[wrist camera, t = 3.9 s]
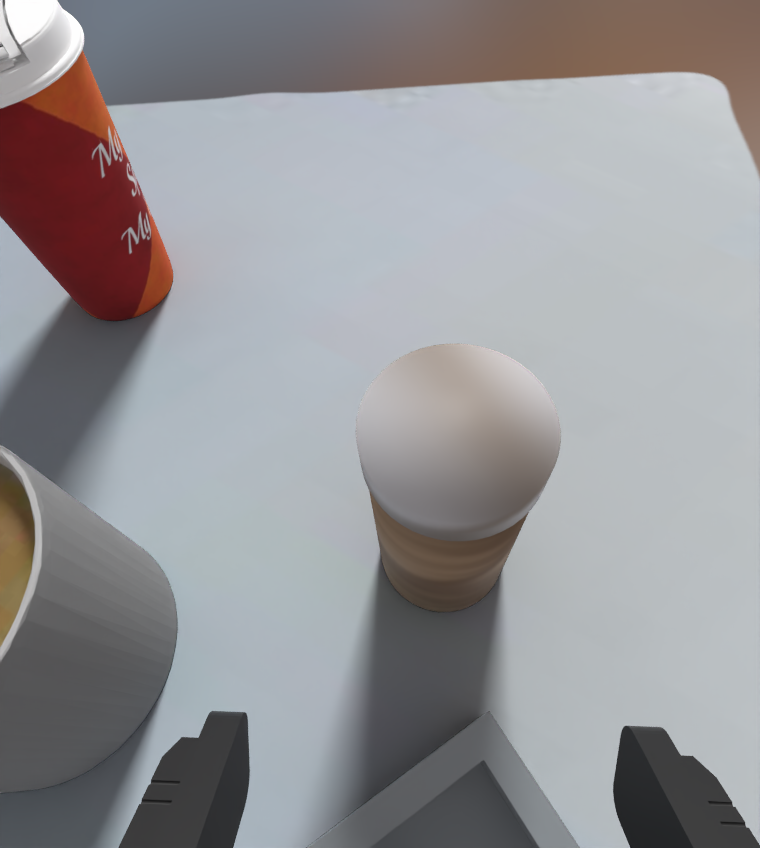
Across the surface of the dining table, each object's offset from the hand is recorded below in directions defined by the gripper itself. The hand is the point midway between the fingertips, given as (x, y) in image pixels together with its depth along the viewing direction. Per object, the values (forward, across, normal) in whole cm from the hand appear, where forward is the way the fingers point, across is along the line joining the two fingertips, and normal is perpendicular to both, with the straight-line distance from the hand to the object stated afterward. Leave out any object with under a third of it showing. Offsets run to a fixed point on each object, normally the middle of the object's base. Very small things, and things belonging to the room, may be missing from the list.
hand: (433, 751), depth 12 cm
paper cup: (+24, -17, +9) cm, 31 cm away
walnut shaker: (+13, +1, -2) cm, 13 cm away
